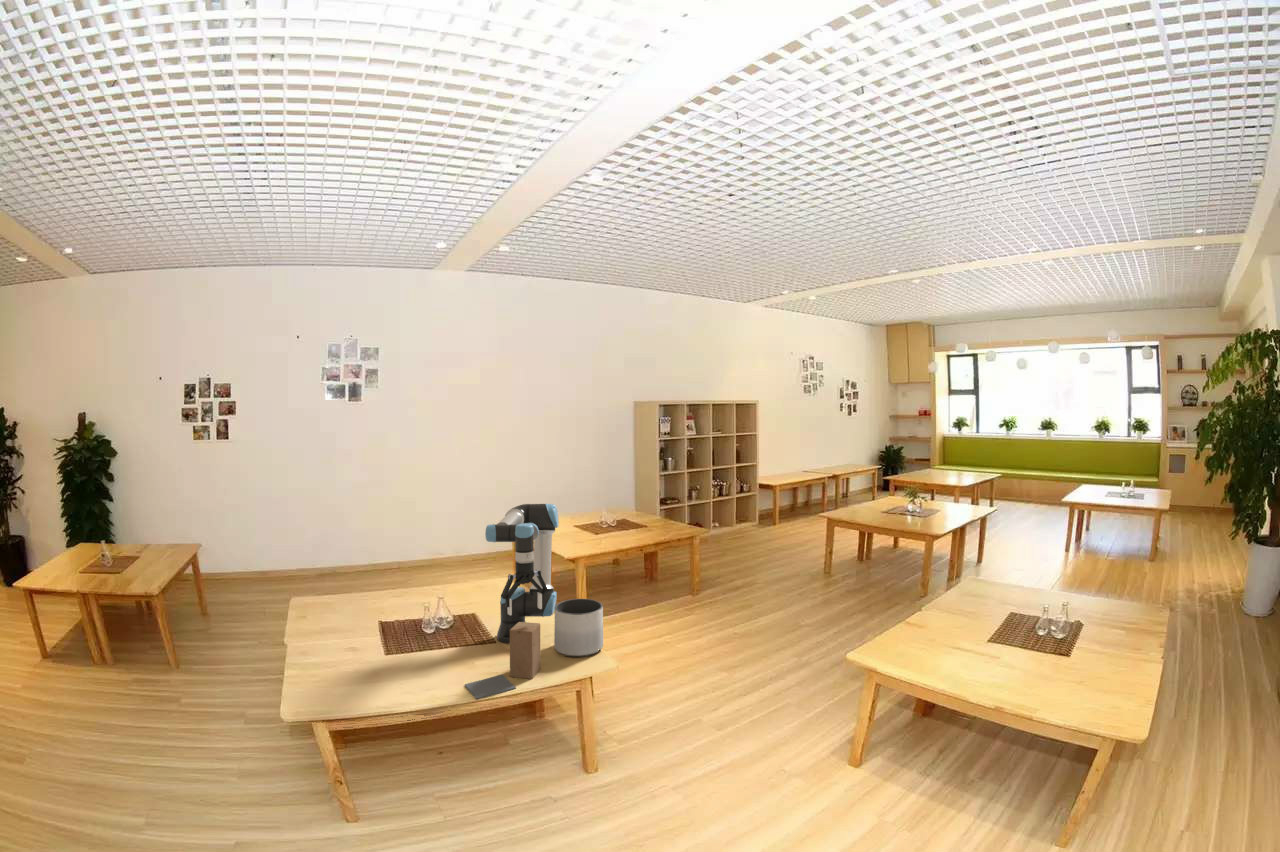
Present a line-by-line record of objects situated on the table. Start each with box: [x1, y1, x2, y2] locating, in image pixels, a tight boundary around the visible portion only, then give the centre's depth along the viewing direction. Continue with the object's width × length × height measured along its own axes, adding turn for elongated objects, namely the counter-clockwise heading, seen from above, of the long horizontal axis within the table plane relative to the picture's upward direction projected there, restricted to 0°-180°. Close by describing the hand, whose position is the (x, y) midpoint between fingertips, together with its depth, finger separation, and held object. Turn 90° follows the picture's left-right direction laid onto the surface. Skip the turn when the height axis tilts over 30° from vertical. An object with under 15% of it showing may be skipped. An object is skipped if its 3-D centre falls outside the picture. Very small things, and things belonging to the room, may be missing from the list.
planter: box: [553, 598, 604, 658], centre depth 283 cm, size 23×23×20 cm
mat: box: [464, 674, 516, 701], centre depth 245 cm, size 14×16×1 cm
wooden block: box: [509, 621, 542, 680], centre depth 258 cm, size 10×10×20 cm
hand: (524, 611), depth 257 cm, fingers open, 13 cm apart
